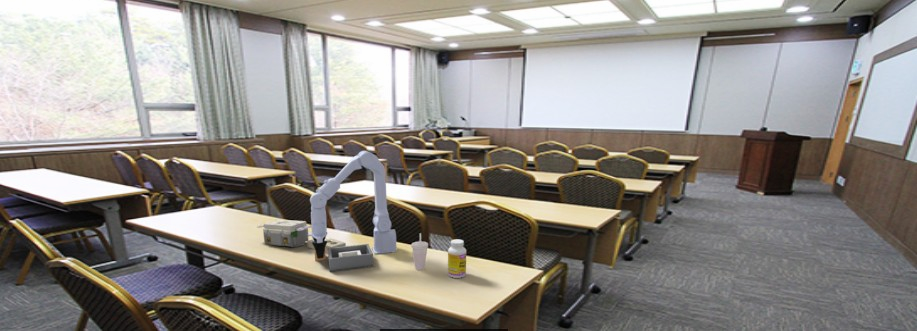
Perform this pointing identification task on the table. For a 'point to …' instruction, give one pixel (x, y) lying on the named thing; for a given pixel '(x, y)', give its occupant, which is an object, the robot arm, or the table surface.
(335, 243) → the electrical outlet
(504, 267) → the table surface
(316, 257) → the plug
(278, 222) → the grey latched case
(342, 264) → the bay
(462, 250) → the supplement bottle
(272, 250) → the table surface
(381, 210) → the robot arm
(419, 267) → the smoothie
